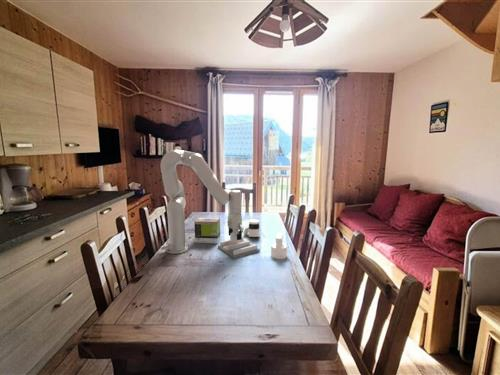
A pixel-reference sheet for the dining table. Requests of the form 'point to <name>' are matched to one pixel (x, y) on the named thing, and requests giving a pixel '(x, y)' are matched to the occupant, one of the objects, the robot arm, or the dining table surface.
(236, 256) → the grey board with rails
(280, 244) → the base with upright slab
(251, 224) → the spread jar
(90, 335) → the dining table surface
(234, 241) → the eye dropper bottle
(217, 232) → the tea box
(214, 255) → the dining table surface
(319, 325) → the dining table surface
